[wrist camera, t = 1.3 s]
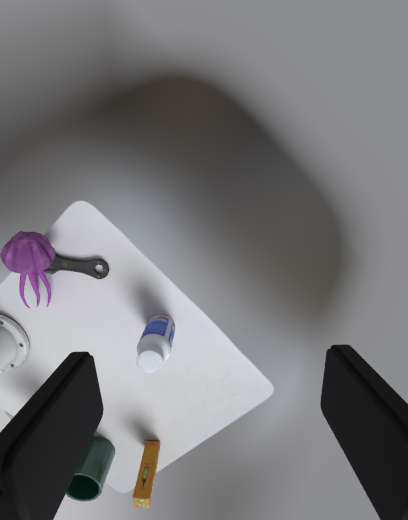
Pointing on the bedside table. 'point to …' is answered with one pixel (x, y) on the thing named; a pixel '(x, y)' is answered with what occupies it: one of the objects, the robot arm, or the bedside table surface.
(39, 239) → the jellyfish
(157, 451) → the supplement box
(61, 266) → the hex hole wrench
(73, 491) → the cup
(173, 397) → the bedside table surface
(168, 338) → the pill bottle
